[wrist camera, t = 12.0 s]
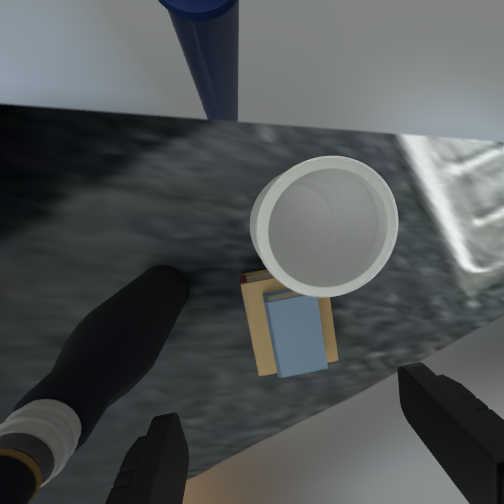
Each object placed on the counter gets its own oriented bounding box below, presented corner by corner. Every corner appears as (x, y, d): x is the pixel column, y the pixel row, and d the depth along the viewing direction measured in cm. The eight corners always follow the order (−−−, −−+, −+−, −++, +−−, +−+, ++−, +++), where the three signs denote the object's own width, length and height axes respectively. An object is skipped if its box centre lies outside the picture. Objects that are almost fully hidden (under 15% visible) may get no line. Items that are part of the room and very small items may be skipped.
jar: (317, 166, 33) (383, 135, 19) (336, 245, 35) (411, 274, 20) (234, 192, 33) (236, 180, 18) (259, 270, 35) (278, 316, 20)
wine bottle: (146, 258, 34) (-393, 579, 5) (195, 273, 35) (-7, 629, 6) (132, 304, 35) (-392, 818, 6) (181, 318, 36) (-59, 835, 6)
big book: (240, 274, 35) (240, 284, 31) (315, 259, 36) (326, 268, 31) (256, 356, 38) (259, 376, 33) (326, 341, 38) (338, 360, 33)
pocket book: (262, 293, 31) (264, 303, 28) (309, 284, 31) (317, 292, 28) (274, 362, 33) (278, 378, 30) (319, 353, 33) (328, 368, 30)
